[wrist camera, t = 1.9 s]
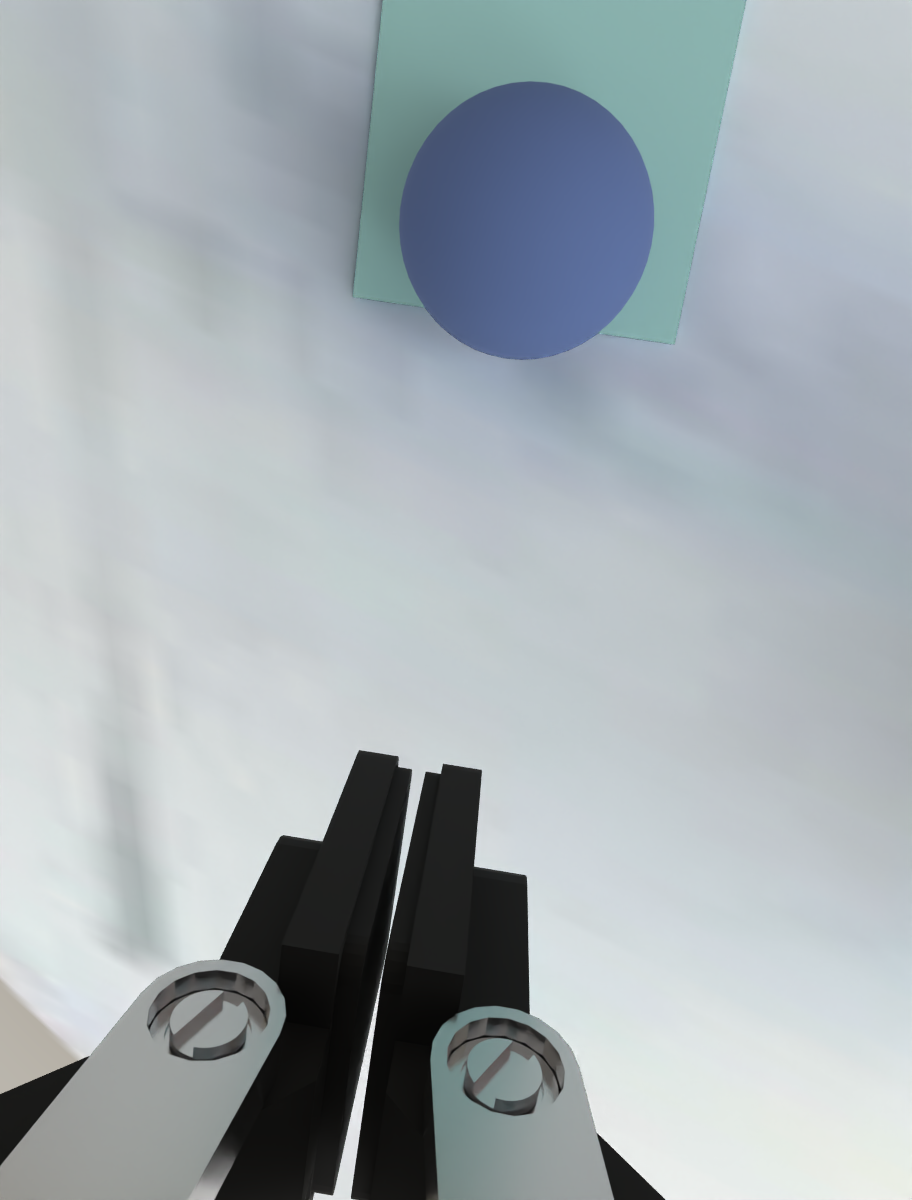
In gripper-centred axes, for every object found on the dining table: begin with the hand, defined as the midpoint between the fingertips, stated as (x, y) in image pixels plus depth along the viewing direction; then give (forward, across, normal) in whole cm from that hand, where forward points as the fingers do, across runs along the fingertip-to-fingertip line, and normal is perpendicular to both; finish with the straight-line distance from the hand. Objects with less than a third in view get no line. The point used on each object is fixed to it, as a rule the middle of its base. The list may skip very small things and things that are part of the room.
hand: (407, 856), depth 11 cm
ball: (+12, 0, -10) cm, 15 cm away
